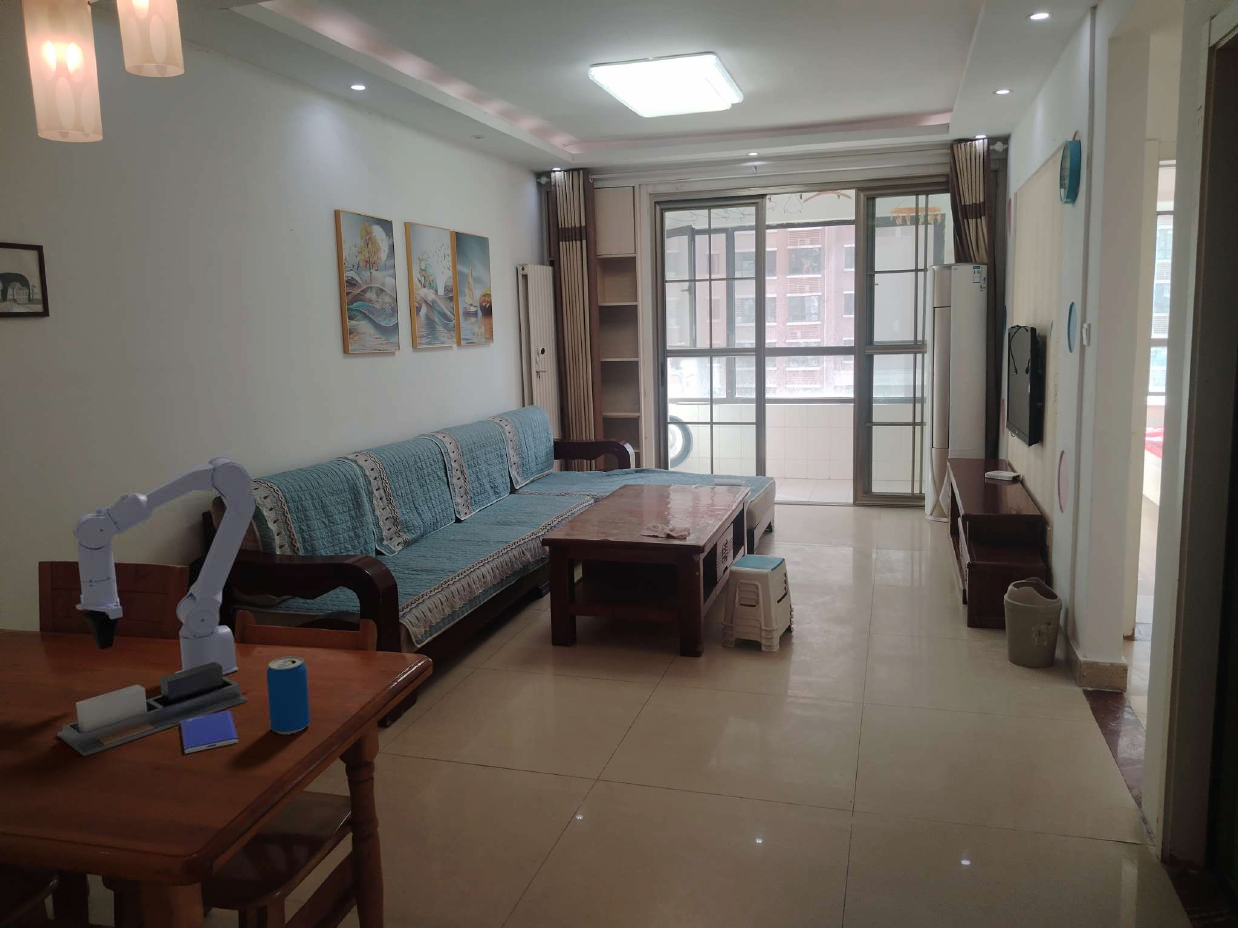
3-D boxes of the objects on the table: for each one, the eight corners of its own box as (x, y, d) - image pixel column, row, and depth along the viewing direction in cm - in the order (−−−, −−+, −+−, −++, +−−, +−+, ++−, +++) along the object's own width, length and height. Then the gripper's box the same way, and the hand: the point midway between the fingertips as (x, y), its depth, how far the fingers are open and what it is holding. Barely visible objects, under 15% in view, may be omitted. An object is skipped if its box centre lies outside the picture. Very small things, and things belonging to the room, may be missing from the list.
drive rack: (217, 685, 177) (214, 653, 176) (247, 701, 169) (245, 667, 168) (57, 735, 156) (53, 699, 155) (84, 756, 148) (80, 718, 147)
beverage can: (318, 722, 160) (313, 657, 158) (294, 738, 154) (289, 671, 152) (288, 718, 162) (283, 653, 160) (262, 733, 156) (257, 666, 154)
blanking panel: (140, 716, 162) (137, 684, 161) (148, 720, 160) (144, 688, 159) (79, 735, 155) (76, 702, 154) (86, 740, 153) (82, 707, 152)
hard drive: (180, 719, 160) (184, 747, 149) (230, 709, 163) (237, 736, 153) (181, 728, 160) (185, 756, 149) (231, 717, 164) (238, 745, 153)
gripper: (60, 576, 172) (68, 644, 174) (89, 589, 162) (97, 662, 165) (100, 568, 177) (107, 634, 179) (131, 580, 168) (138, 651, 170)
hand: (105, 647), depth 172 cm, fingers closed
